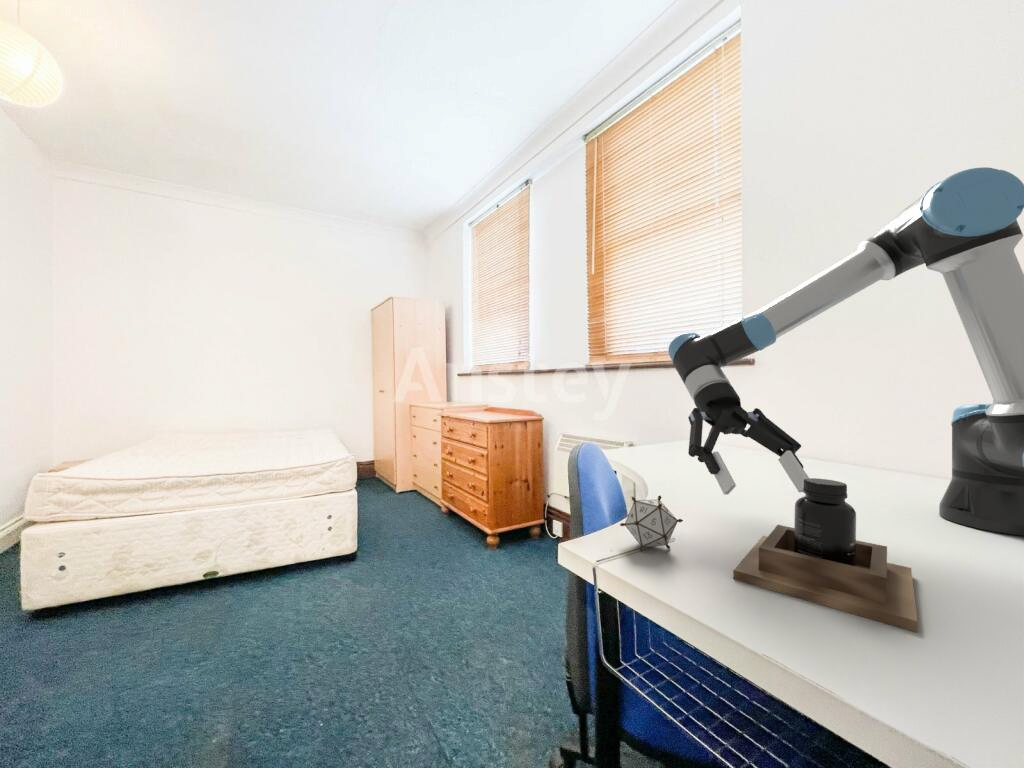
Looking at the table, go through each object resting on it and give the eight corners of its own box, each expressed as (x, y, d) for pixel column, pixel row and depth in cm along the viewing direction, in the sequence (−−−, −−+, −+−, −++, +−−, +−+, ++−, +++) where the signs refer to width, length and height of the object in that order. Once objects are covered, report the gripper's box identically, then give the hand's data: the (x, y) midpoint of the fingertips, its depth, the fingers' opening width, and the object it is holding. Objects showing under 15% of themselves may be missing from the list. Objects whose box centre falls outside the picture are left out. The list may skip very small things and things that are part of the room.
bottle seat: (910, 576, 58) (911, 546, 58) (917, 632, 45) (917, 593, 45) (762, 542, 71) (763, 517, 71) (733, 578, 57) (733, 547, 57)
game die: (638, 570, 68) (600, 517, 70) (663, 540, 73) (627, 491, 75) (678, 561, 61) (635, 502, 63) (703, 528, 66) (663, 474, 68)
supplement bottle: (868, 582, 54) (869, 489, 54) (808, 577, 55) (809, 485, 55) (837, 560, 61) (838, 477, 61) (785, 556, 62) (786, 474, 62)
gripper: (759, 406, 87) (822, 498, 72) (646, 406, 84) (687, 503, 69) (779, 381, 82) (851, 474, 67) (659, 379, 78) (707, 477, 64)
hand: (768, 489), depth 68 cm, fingers open, 13 cm apart
